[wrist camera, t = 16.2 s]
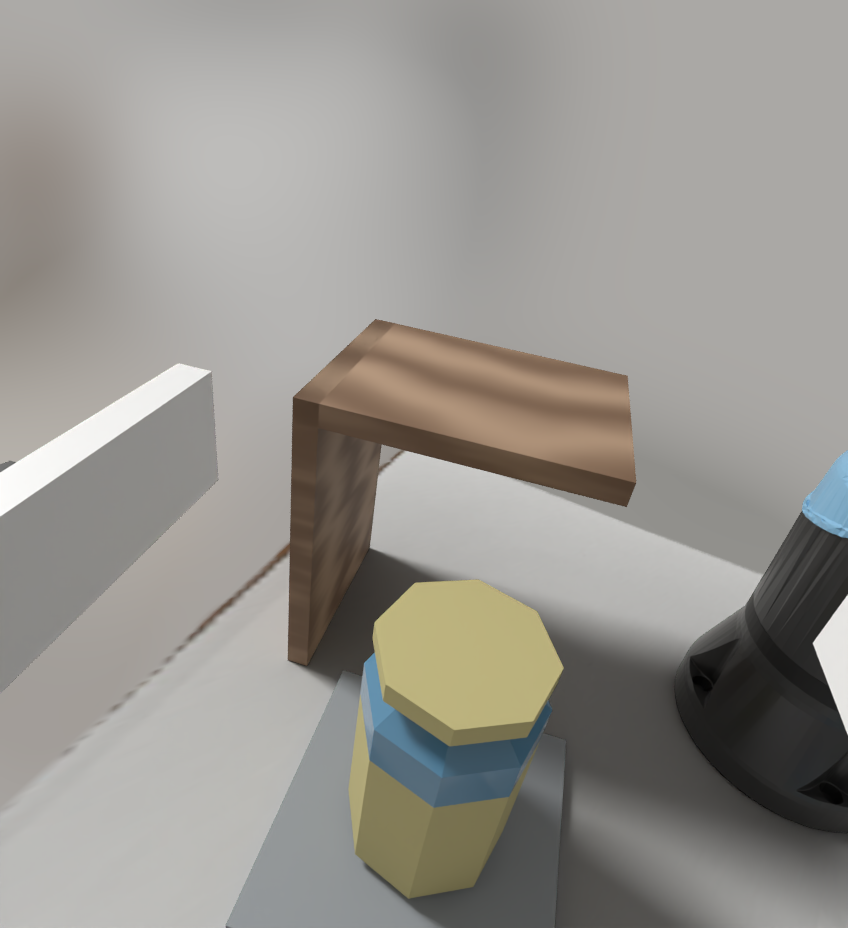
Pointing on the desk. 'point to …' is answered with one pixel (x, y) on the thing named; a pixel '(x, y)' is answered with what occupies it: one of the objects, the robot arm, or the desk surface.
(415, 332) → the shelf
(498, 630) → the jar
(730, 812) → the desk surface
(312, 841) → the mat
